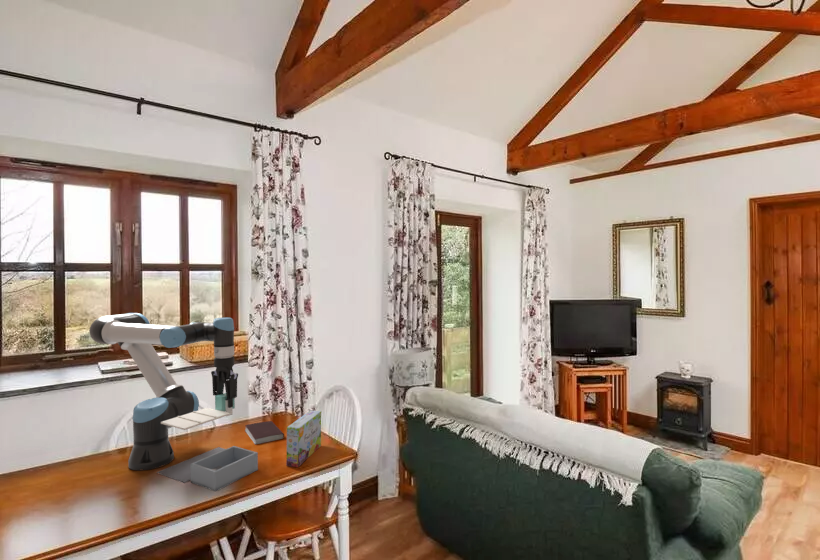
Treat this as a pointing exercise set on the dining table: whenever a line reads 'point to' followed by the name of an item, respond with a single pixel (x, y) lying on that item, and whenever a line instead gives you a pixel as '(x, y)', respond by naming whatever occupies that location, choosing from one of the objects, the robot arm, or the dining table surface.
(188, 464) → the mat
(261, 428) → the book
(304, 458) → the snack box
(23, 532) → the dining table surface
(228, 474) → the tub
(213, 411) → the lid
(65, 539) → the dining table surface
